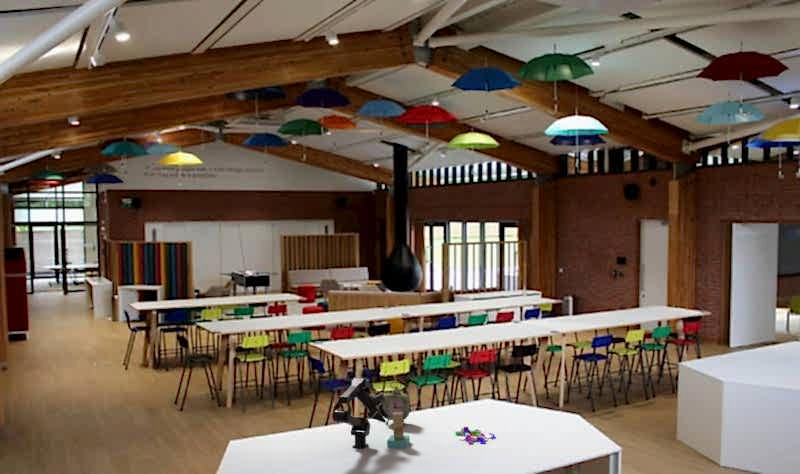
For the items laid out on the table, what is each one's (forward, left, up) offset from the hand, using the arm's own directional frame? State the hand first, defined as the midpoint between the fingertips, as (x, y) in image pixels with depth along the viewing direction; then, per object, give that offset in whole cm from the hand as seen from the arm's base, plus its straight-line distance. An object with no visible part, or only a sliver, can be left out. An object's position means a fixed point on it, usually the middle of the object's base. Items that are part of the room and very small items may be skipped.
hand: (386, 419), depth 357 cm
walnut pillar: (+2, -6, -10) cm, 12 cm away
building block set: (+30, -40, -14) cm, 51 cm away
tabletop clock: (+38, +10, -14) cm, 41 cm away
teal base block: (+3, -6, -14) cm, 15 cm away
